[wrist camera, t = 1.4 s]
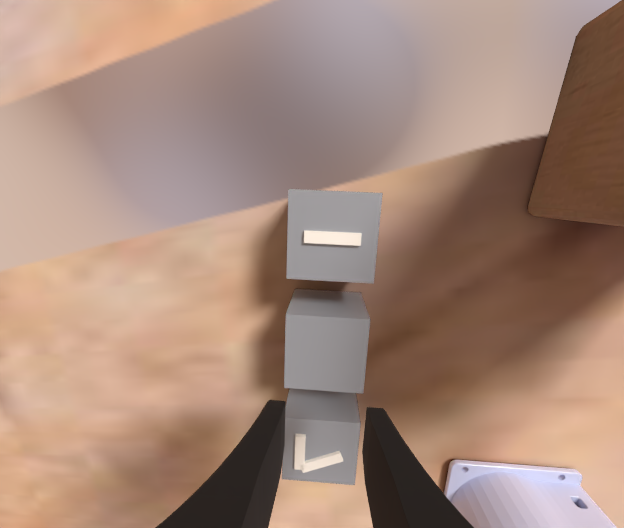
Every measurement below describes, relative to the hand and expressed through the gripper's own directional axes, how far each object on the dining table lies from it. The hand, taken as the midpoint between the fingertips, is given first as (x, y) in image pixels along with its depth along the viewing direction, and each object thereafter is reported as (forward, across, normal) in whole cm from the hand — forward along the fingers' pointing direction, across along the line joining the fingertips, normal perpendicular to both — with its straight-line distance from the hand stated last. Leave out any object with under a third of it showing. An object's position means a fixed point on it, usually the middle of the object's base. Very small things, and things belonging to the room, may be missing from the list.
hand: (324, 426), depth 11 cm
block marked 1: (+10, 0, -6) cm, 12 cm away
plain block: (+10, 0, 0) cm, 10 cm away
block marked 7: (+10, 0, +6) cm, 12 cm away
